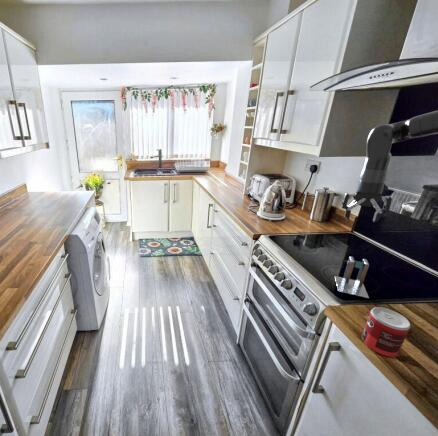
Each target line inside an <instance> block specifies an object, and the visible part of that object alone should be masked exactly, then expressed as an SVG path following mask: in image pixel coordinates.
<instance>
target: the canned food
mask: <svg viewBox="0 0 438 436" xmlns="http://www.w3.org/2000/svg"><path fill="white" fill-rule="evenodd" d="M410 329H411V323H410V321H409V319H408V318H407V317H405V316H404V315H402V314H400V313H398V312H397V311H395V310H392V309H389V308H385V307H381V306H378V307H377V306H376V307H373V308H372V309H370V312H369V315H368V318H367V321H366V323H365V326H364V329H363V331H362V334H361V340H362V342H363V344H365V345H366V346H367V347H368V348H369V349H370V350H372V351H374V354H376V355H377V356H380V357H383V358H387V359H390V358H391V357H397V356H398V354H399V352H400V350H401V348H402V346H403V343H404V342H405V339H406V338H407V335H408V334H409V331H410Z"/></svg>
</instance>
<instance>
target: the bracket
mask: <svg viewBox="0 0 438 436" xmlns="http://www.w3.org/2000/svg"><path fill="white" fill-rule="evenodd" d="M355 261H356V260H355V258H354V256H349V257H348V260H347V264H346V267H345V270H344V273H343V276H342V277H341V276H338V275H334V280H335V285H336V288H337V292H339V293H344V294H349V295H351V296H352V295H353V296H356V297H361V298H363V299H370V297H369V295H368V294H369V293H368V292H367V290H366V287H365V285H364V282H365V278H366V275H367V273H368V270H369V267H370V264H369V262H368V260H367V259H366V258H362V260H361V262H363V266H362V269H361V268H358V269H359V270H358V273H357V276H356V277H355V278H356V279H352V278H351V276H352V273H353V270H354V268H355V267H354V264H355Z"/></svg>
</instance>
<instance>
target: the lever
mask: <svg viewBox="0 0 438 436" xmlns="http://www.w3.org/2000/svg"><path fill="white" fill-rule="evenodd" d="M347 261H348V260H346V259H342V261H341V263H342V264H344V265H347ZM354 261H355V264H354V267H353V268H356V269H360V268H361V269H362V266H363V262H362V261H357V260H354Z"/></svg>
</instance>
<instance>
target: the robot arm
mask: <svg viewBox="0 0 438 436" xmlns="http://www.w3.org/2000/svg"><path fill="white" fill-rule="evenodd" d="M437 134H438V110H434V111H430V112H426V113H423V114H419V115H416V116H413V117H411V118H409V119H406V120H401V121H398V122H394V123H393V122H392V123H388V124H379V125H376V126H375V127H374V128H372V129H371V130H370V132H369V134H368V136H367V140H366V148H365V149H366V151H365V152H366V155H365V158H364V163H363V166H362V169H361V172H360V174H359V177H358V182H357V185H356V189H355V193H354V194H352V193H348V192H346V193H344V194H343V198H342V200H341V204H340V207H341V209H344V210H345V212H344V218H345V219H346V220H350V217H351V213H352V210H353V209H354V208H357V207H359V206H360V207H367V208H368V207H369V208H371V207H373V209H374V210H375V212H374V215H373V218H372V222H373V223H377V222H379V221H380V219H381V216H382V214H384V213H389V212H390V209H391V206H392V200H393V198H392V196H390V195H385V196H382V194H383V191H384V187H385V184H386V181H387V178H388V173H389V172H388V171H389V168H390V165H391V161H392V153H391V149H392V144H396V143H399V142H404V141H407V140H410V139H417V138H424V137H427V136H432V135H437ZM352 198H353V200H352V201H351V203H350V204H348V202H349V200H351V199H352ZM380 201H382V202H383V207H382V208H381V207H380V206H379V204H378V203H379V202H380ZM347 204H348V205H347Z"/></svg>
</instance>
